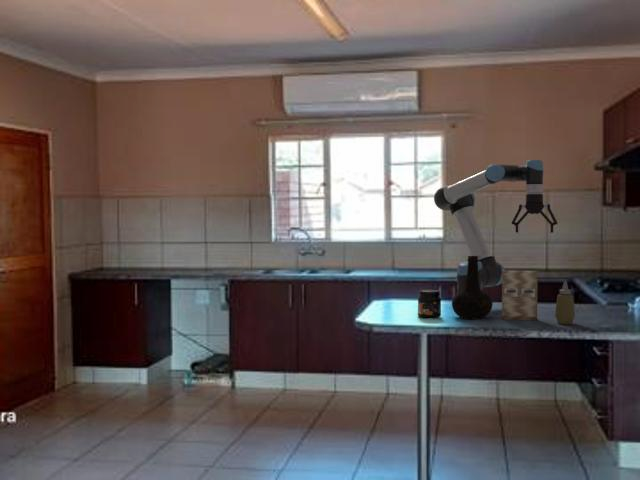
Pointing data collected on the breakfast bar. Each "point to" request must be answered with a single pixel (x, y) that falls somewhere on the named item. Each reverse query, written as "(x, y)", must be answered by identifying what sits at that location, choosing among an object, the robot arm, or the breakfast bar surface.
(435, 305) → the supplement container
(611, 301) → the breakfast bar surface
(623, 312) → the breakfast bar surface
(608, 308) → the breakfast bar surface
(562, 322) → the squeeze bottle
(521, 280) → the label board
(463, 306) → the glass bottle
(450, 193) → the robot arm
